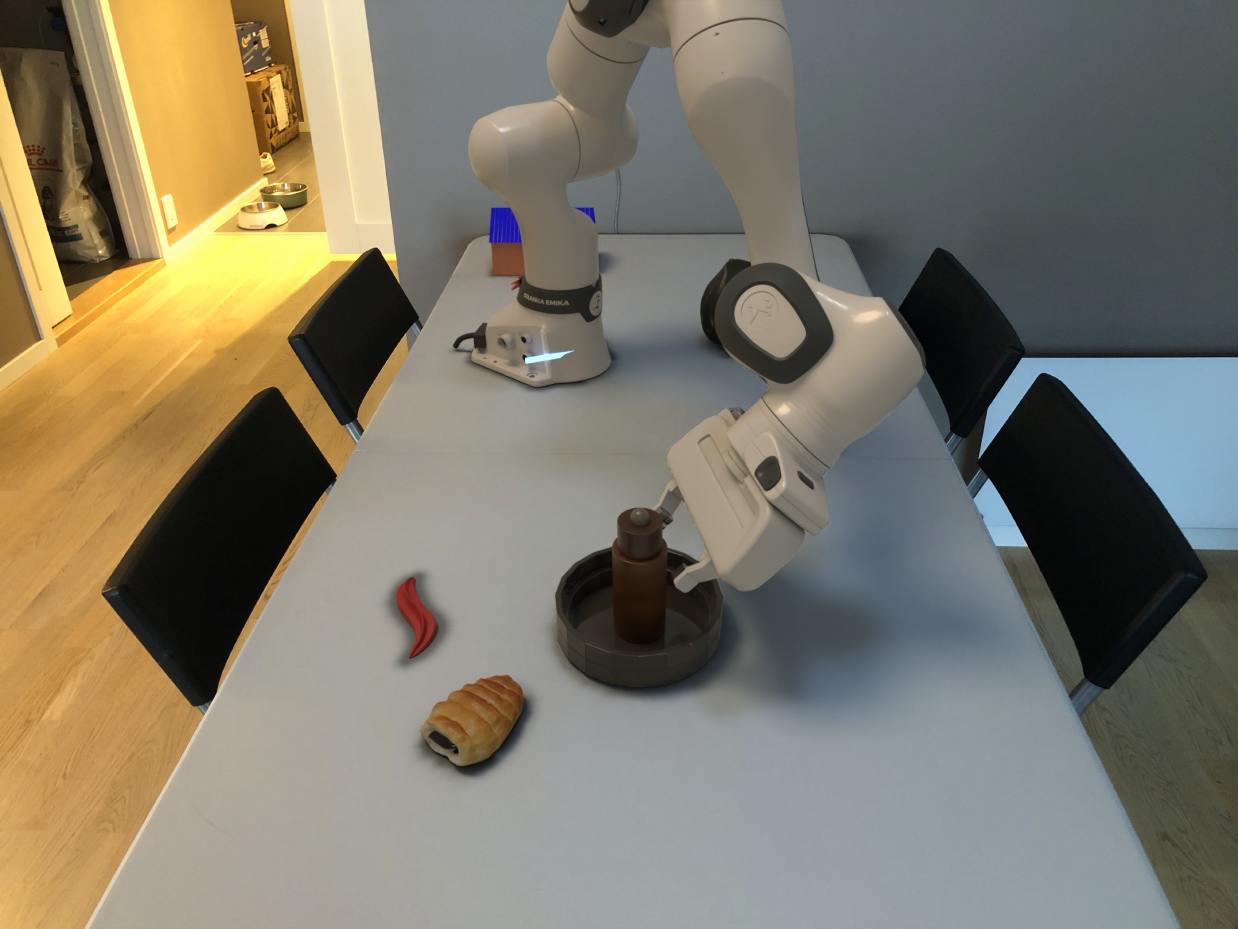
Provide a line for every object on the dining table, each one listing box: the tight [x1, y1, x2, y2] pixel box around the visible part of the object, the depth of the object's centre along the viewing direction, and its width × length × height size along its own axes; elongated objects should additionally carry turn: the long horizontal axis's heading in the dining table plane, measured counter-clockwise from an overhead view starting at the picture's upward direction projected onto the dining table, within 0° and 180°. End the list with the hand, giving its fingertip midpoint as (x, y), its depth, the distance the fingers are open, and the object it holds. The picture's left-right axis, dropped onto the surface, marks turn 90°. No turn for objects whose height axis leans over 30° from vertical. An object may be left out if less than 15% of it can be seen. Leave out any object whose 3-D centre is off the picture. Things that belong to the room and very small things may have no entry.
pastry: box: [419, 674, 525, 767], centre depth 76 cm, size 9×7×4 cm
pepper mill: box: [611, 507, 669, 643], centre depth 83 cm, size 5×5×14 cm
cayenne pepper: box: [396, 576, 438, 659], centre depth 88 cm, size 12×5×2 cm, turn 4°
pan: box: [554, 546, 724, 689], centre depth 85 cm, size 16×16×4 cm
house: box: [488, 206, 597, 276], centre depth 172 cm, size 12×20×12 cm, turn 89°
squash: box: [699, 257, 751, 347], centre depth 140 cm, size 14×15×15 cm
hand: (664, 552), depth 82 cm, fingers open, 8 cm apart
